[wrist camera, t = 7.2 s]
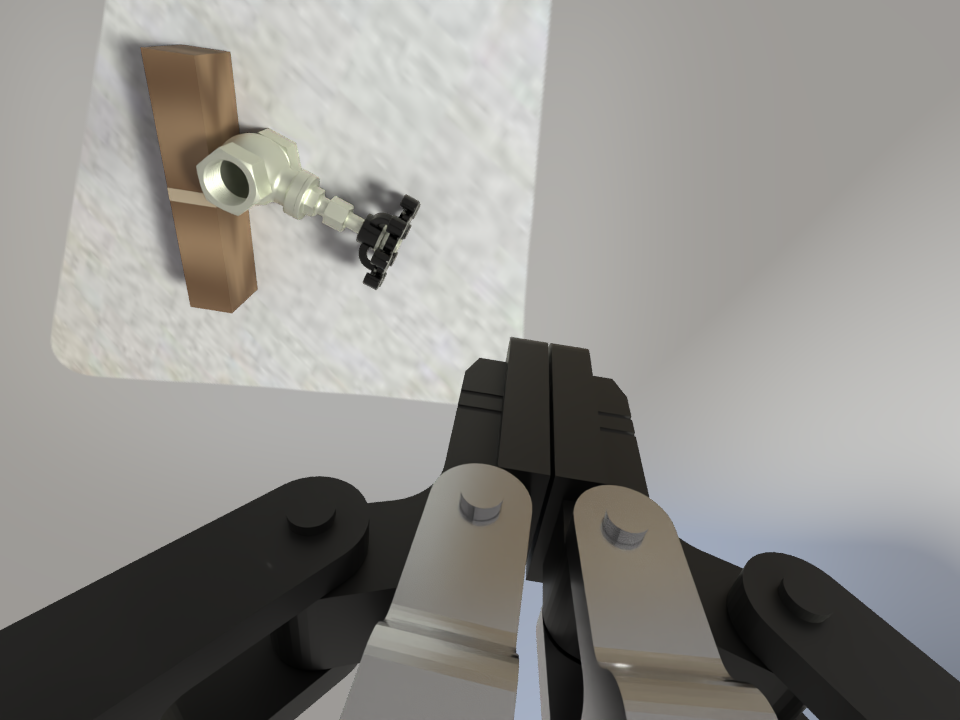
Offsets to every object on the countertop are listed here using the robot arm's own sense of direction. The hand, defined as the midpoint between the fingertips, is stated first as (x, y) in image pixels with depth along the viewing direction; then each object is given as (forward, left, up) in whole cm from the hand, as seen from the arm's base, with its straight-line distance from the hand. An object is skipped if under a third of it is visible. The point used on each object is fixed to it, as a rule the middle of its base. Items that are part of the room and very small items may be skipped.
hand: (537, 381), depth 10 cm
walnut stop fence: (+6, -21, -27) cm, 35 cm away
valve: (+5, -14, -27) cm, 31 cm away
